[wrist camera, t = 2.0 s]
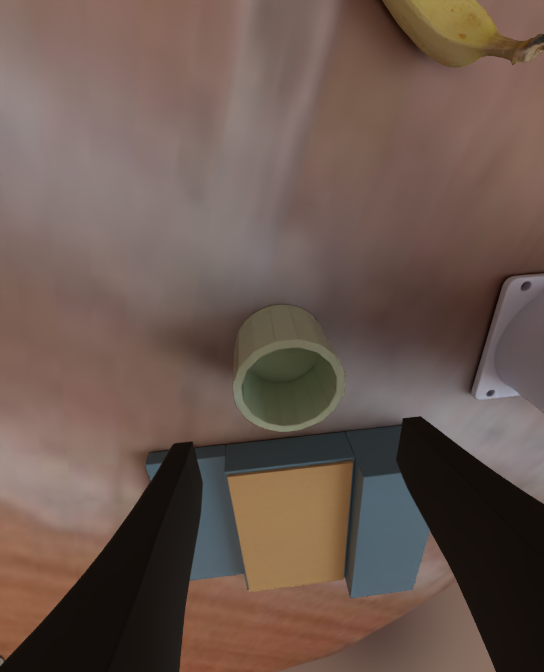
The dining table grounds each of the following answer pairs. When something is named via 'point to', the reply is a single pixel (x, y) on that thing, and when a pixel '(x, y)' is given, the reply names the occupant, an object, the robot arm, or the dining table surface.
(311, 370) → the cup
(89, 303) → the dining table surface
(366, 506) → the step shelf
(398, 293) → the dining table surface
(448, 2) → the banana
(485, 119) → the dining table surface
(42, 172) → the dining table surface
